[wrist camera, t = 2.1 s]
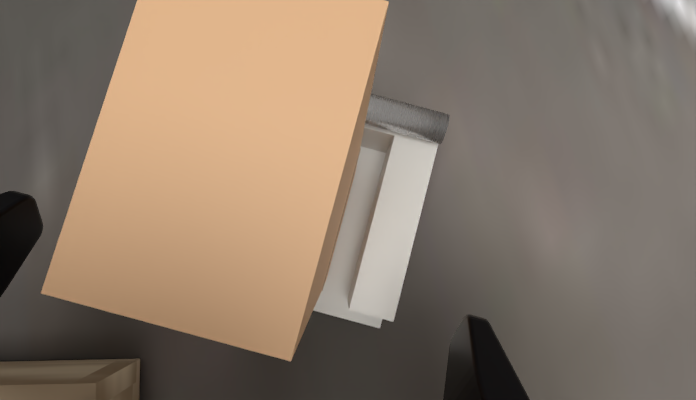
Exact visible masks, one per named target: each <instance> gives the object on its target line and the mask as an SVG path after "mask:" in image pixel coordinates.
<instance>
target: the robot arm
mask: <svg viewBox="0 0 696 400" xmlns="http://www.w3.org/2000/svg"><path fill="white" fill-rule="evenodd" d="M42 230H43V223H42V219H41V216H40V213H39V210H38V207H37V204H36V201H35V199H34V198H33V197H32V196H30V195H27V194H24V193H20V192H16V191H8V192H5V193H2V194H0V297H1V296H2V294H3V293H4V291H5V290H6V288H7V287H8V285H9V284H10V282H11V281H12V279H13V278H14V276H15V274H16V273H17V271H18V270H19V268H20V267H21V265H22V264H23V262H24V260H25V259H26V257H27V256H28V254H29V253H30V251H31V250H32V248H33V246H34V245H35V243H36V242H37V240H38V239H39V237H40V235H41V233H42ZM443 400H530V399H529V397H528V396H527V394H526V392H525V390H524V388H523V386H522V384H521V382H520V380H519V378H518V377H517V375H516V373H515V371H514V369H513V367H512V365H511V363H510V361H509V359H508V358H507V356H506V354H505V352H504V350H503V348H502V346H501V344H500V342H499V340H498V339H497V337H496V335H495V333H494V331H493V329H492V327H491V325H490V323H489V322H488V321H487V320H486V319H484V318H481V317H477V316H473V315H466V316H465V317H464V318H463V320H462V322H461V323H460V325H459V327H458V328H457V330H456V332H455V333H454V335H453V337H452V339H451V343H450V348H449V357H448V365H447V373H446V382H445V390H444V398H443Z"/></svg>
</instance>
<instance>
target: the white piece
mask: <svg viewBox="0 0 696 400" xmlns="http://www.w3.org/2000/svg"><path fill="white" fill-rule="evenodd" d="M448 122H449V114H445V113H442V112H438V111H434V110H430V109H426V108H423V107H419V106H415V105H411V104H408V103H404V102H400V101H396V100H393V99H389V98H385V97H381V96H377V95H374V94H371V95H370V101H369V106H368V111H367V116H366V121H365V126H364V131H363V136H362V141H361V146H360V148H361V150H360V154H359V158H358V162H357V167H356V172H355V175H354V179H353V183H352V186H351V190H350V194H349V198H348V201H347V205H346V209H345V212H344V216H343V220H342V224H341V227H340V231H339V235H338V238H337V242H336V246H335V250H334V253H333V257H332V261H331V264H330V268H329V272H328V276H327V279H326V282H325V284H324V287H323V291H321V293H320V296H319V298H318V300H317V303H316V305H315V307H314V310H313V311H317V312H321V313H324V314H328V315H332V316H336V317H339V318H343V319H347V320H350V321H354V322H358V323H361V324H365V325H369V326H372V327H376V328H380V326H381V322H382V319H385V320H388V321H392V322H393V321H394V317H395V314H396V310H397V306H398V302H399V298H400V294H401V290H402V286H403V282H404V278H405V274H406V270H407V266H408V262H409V258H410V254H411V250H412V246H413V242H414V238H415V234H416V230H417V226H418V222H419V218H420V215H421V211H422V207H423V203H424V199H425V195H426V191H427V187H428V183H429V179H430V175H431V171H432V167H433V163H434V159H435V155H436V151H437V147H438V144H441V143H442V141H443V139H444V136H445V133H446V130H447V126H448Z"/></svg>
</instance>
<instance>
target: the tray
mask: <svg viewBox="0 0 696 400" xmlns="http://www.w3.org/2000/svg"><path fill="white" fill-rule="evenodd" d="M139 384H140V359H102V360H55V361H8V362H0V400H139Z"/></svg>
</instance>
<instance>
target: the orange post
mask: <svg viewBox="0 0 696 400" xmlns="http://www.w3.org/2000/svg"><path fill="white" fill-rule="evenodd" d="M388 4H389V2H388V1H384V0H137V3H136V6H135V9H134V12H133V15H132V18H131V21H130V24H129V27H128V30H127V34H126V37H125V40H124V43H123V46H122V49H121V52H120V55H119V58H118V61H117V64H116V67H115V70H114V73H113V76H112V79H111V82H110V85H109V88H108V91H107V94H106V97H105V100H104V103H103V106H102V109H101V112H100V115H99V118H98V121H97V124H96V127H95V130H94V133H93V136H92V140H91V143H90V146H89V149H88V152H87V155H86V158H85V161H84V164H83V167H82V170H81V173H80V176H79V179H78V182H77V185H76V188H75V191H74V194H73V197H72V200H71V203H70V206H69V209H68V212H67V215H66V218H65V221H64V224H63V227H62V230H61V233H60V236H59V239H58V242H57V245H56V249H55V252H54V255H53V258H52V261H51V264H50V267H49V270H48V273H47V276H46V279H45V282H44V285H43V288H42V291H41V294H45V295H48V296H52V297H56V298H59V299H63V300H67V301H71V302H74V303H78V304H82V305H85V306H89V307H93V308H96V309H100V310H104V311H107V312H111V313H115V314H118V315H122V316H126V317H129V318H133V319H137V320H140V321H144V322H148V323H151V324H155V325H159V326H162V327H166V328H170V329H173V330H177V331H181V332H184V333H188V334H192V335H195V336H199V337H203V338H206V339H210V340H214V341H217V342H221V343H225V344H228V345H232V346H236V347H239V348H243V349H247V350H250V351H254V352H258V353H261V354H265V355H269V356H272V357H276V358H280V359H283V360H287V361H291V360H292V358H293V356H294V353H295V351H296V349H297V346H298V344H299V342H300V339H301V337H302V335H303V333H304V330H305V328H306V326H307V323H308V321H309V319H310V316H311V314H312V312H313V310H314V307H315V305H316V303H317V300H318V298H319V296H320V293H321V291H323V287H324V284H325V282H326V279H327V276H328V272H329V268H330V264H331V261H332V257H333V253H334V250H335V246H336V242H337V238H338V235H339V231H340V227H341V224H342V220H343V216H344V212H345V209H346V205H347V201H348V198H349V194H350V190H351V186H352V183H353V179H354V175H355V172H356V167H357V162H358V158H359V154H360V150H361V148H360V146H361V141H362V136H363V131H364V126H365V121H366V116H367V111H368V106H369V101H370V95H371V90H372V85H373V80H374V75H375V70H376V65H377V60H378V55H379V49H380V44H381V39H382V34H383V29H384V24H385V19H386V14H387V9H388Z"/></svg>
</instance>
